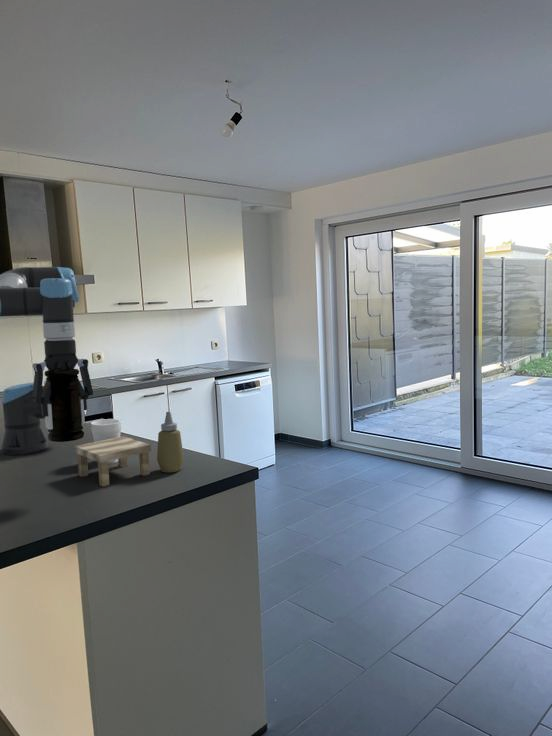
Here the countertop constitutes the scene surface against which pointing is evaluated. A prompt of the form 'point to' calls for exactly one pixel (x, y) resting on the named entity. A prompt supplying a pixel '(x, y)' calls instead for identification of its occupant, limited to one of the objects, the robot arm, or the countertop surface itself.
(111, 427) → the foam cup
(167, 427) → the squeeze bottle
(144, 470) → the beige flat-topped legged fixture
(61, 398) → the container
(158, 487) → the countertop surface
